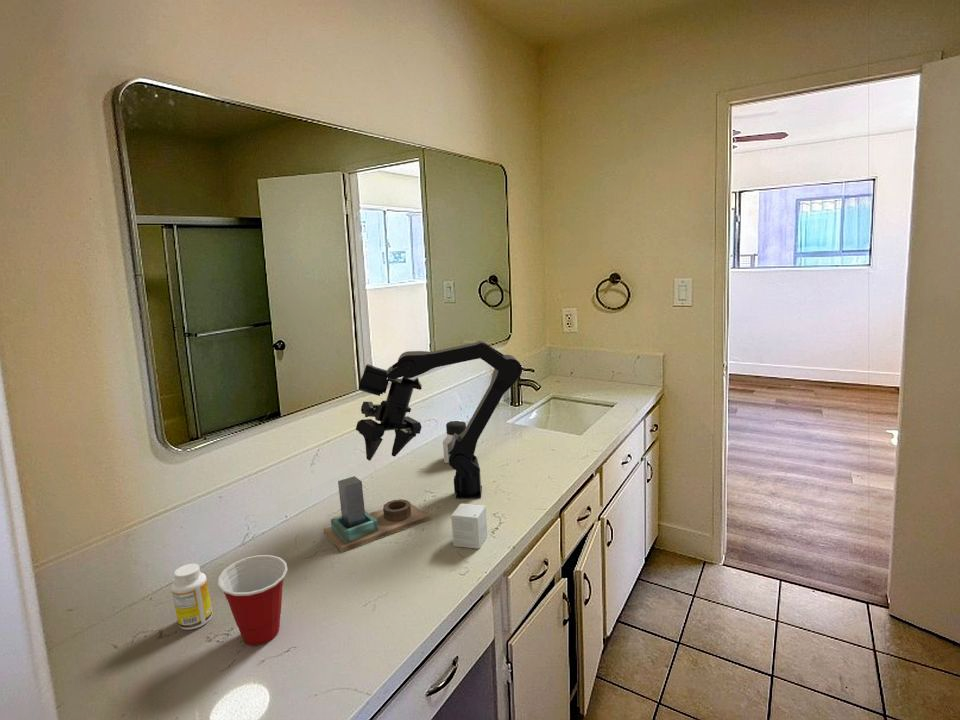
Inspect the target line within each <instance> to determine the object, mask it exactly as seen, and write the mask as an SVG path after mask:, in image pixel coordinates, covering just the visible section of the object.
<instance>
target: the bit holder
mask: <svg viewBox="0 0 960 720" xmlns="http://www.w3.org/2000/svg"><path fill="white" fill-rule="evenodd" d="M365 518H366V523H363V524H360V525H357V526H355V527H352V528H349V529H346V528H345V527H344V526H343V523H342V515H340V516H337V517H335V518H331V519H330V524H331V525H330V526H329V527H326V528H323V534H324V535H325V536H326V537H327V538H328V539H329V540H330V541H331V542H332V543H333V544H334V545H335V547H337V549H339V550H340V552H341V553H344V552H346V551H349V550H352V549H354V548H357V547H359V546H362V545H365V544H368V543H370V542H373V541H376V540H378V539H381V538H384V537H386V535H387V536H389V535H392V534H395V533H397V532H400V531H403V530H406V529H408V528H411V527H413V526H416V525H419V524H421V523H425V522H426V521H429V520H430V515H429V514H428V513H426V512H424V511H423V510H421V509H419V507H417V506H415V505H413V504H412V503H411V502H410V501H409V500H407V499H402V498H401V499H400V498H399V499H393V500H390V501H387V502H385V504H383V508H382V509H381V508H380V509H378V510H377V511H373V512H370V513H369V512H367V511H366V510H365ZM405 528H406V529H405Z"/></svg>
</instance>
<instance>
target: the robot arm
mask: <svg viewBox="0 0 960 720" xmlns="http://www.w3.org/2000/svg"><path fill="white" fill-rule="evenodd" d="M478 359H480V360H482V361H483V362H485V363H486V364H488V365H489V366H491V367H492V368H493V370H492V371H493V372H492V375H491V376H492V377H491V380H490V384H489V385H488V388H487V389H486V391H485V392H484V395H483V396H482V398H481V400H480V402H479V403H478V405H477V407H476V408H475V410H474V412H473V414H472V416H471V418H470V419H469V421H468V423H467V424H466V428H465V430H464V431H463V432H462V433H461V434H460V435H457V434H456V433H454V435H453V438H452V440H451V442H450V443H449V444H448V445H447V446H448V460H449V463H448V465H449V467H451V469H453V470H454V471H455V475H454V477H453V487H454V488H453V489H454V494H455V499H479V498H481V497H482V490H483V486H482V481H481V477H482V476H481V468H480V464H479V460H478V457H477V456H476V455H475V451H476V447H477V443H478V440H479V438H480V437H481V436H482V434H483V432H484V430H485V428H486V426H487V424H488V423H489V421H490V419H491V418H492V415H493V414H494V412H495V410H496V408H497V406H498V405H499V403H500V401H501V400H502V399H503V398H502V397H503V396H504V394H505V393H506V392H507V391H508V390H509V389H511V388H512V387H513V386H514V385H515V383H516V382H517V381H518V380H519V378H520V377H521V376H522V373H523V368H522V365H521V362H519V361H518V359H517V358H516V357H515V356H513V355H511V354H503V353H502V352H500V351H499V350H497V349H495V348H494V347H492V346H490V345H489V344H488V343H487V342H486V341H484V340H478V341H476V342H475V341H474V342H472V343H468V344H463V345H462V344H461V345H458V346H453V347H448V348H443V349H438V350H434V351H433V350H431V351H427V350H426V351H424V350H423V351H422V350H413V351H411V350H410V351H409V350H407V351H405V352H403V353H401V354H400V355H399V357H398V359H397V362H395V363H394V364H392V365H390V366H389V367H388V368H387V369H383V368H380V367H378V366H377V367H376V366H374V365H372V364H368V363H367V364H365V367H364V371H363V373H362V376H361V377H360V381H359V385H358V389H357V391H360V392H363V393H367V394H371V395H374V396H378V397H380V396H381V395H383V394H386V393H387V389H388V386H389V383H390V387H389V389H388V393H387V396H386V400H382V401H381V402H380V404H377V403H375V404H374V403H373V401H363V403H362V405H361V408H360V411H361V414H362V415H364V418H367V419H360V420H358V421H357V423H356V426H355V430H356V431H357V432H358V433H359V434H360V435H362V437H363V438H364V444H365V453H366V454H365V457H366V460H368V461H371V460H372V459H373V457H374V456H375V454H376V452H377V450H378V449H379V447H380V446H381V444H382V442H383V440H384V438H382V437H383V436H384V435H385V433H386V432H388V431H394V434H395V437H394V441H393V444H392V449H391V456H393V457H396V456H397V455H398V454H399V453H400V452H401V451H402V450H403V449H404V448H405V447H406V446H407V445H408V443H410V442H411V440H413V439H414V438H415V437H416V436H417V435H418V434H420V433H421V431H422V423H421V422H420V421H418V420H416V419H414V418H412V417H410V416H407V413H411V411H412V408H411V407H410V406H409V405H410V401H411V398H412V395H413V392H414V389H415V390H419V391H420V390H422V386H423V385H422V383H421V382H420V381H419V377H418V376H421V375H423V374H425V373H427V372H429V371H431V370H433V369H435V368H440V367H444V366H450V365H455V364H459V363H464V362H465V363H466V362H469V361H474V360H478ZM415 377H416V378H415ZM412 378H414V379H412ZM368 417H371V418H368ZM372 418H374V419H375V420H373V419H372ZM378 422H379V423H378Z"/></svg>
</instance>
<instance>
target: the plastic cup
mask: <svg viewBox="0 0 960 720" xmlns="http://www.w3.org/2000/svg"><path fill="white" fill-rule="evenodd" d="M287 573H288V564H287V562H286V561H285V560H284V559H283V558H282V557H279V556H275V555H272V554H271V555H270V554H263V555H261V554H259V555H258V554H257V555H254V556H248V557H244V558H242V559H240V560H237V561H235V562H233V563H231V564H230V565H228V566H227V567H225V568H224V569H223V570H222V572H221V573H220V574H219V575H218V577H217V581H218V583H217V586H218V587H219V588H220V590H222V592H223V594H224V595H225V598H226V600H227V602H228V605H229V607H230V610H231V613H232V616H233V619H234V621H235V624H236V626H237V628H238V631H239V633H240V637H241V639H242V640H243V642H244V643H245V644H246V645H248V646H253V647H254V646H261V645H263V644H267V643H268V642H270V641H273V640H274V639H275V638H276V637H277V635H278V634H279V631H280V628H281V626H280V625H281V624H280V623H281V613H282V599H283V597H282V596H283V586H284V581H285V576H286V575H287Z"/></svg>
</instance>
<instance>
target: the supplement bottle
mask: <svg viewBox="0 0 960 720" xmlns="http://www.w3.org/2000/svg"><path fill="white" fill-rule="evenodd" d="M209 590H210V589H209V585H208V579H207V576H206V574H205V573H203V572H201V568H200V565H199V564H198V563H188V564H185V565H182V566H180V567H178V568H177V569H176V570H175V571H174V581H173V583H172V584H171V594H172V598H173V603H174V609H175V615H176V619H177V625H178V627H179V628H181V630H186V631H190V630H195V629H198V628H200V627H203V626H205V625H206V624H207V623H209V621H211V618H212V617H213V608H212V602H211V596H210V591H209Z"/></svg>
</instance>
